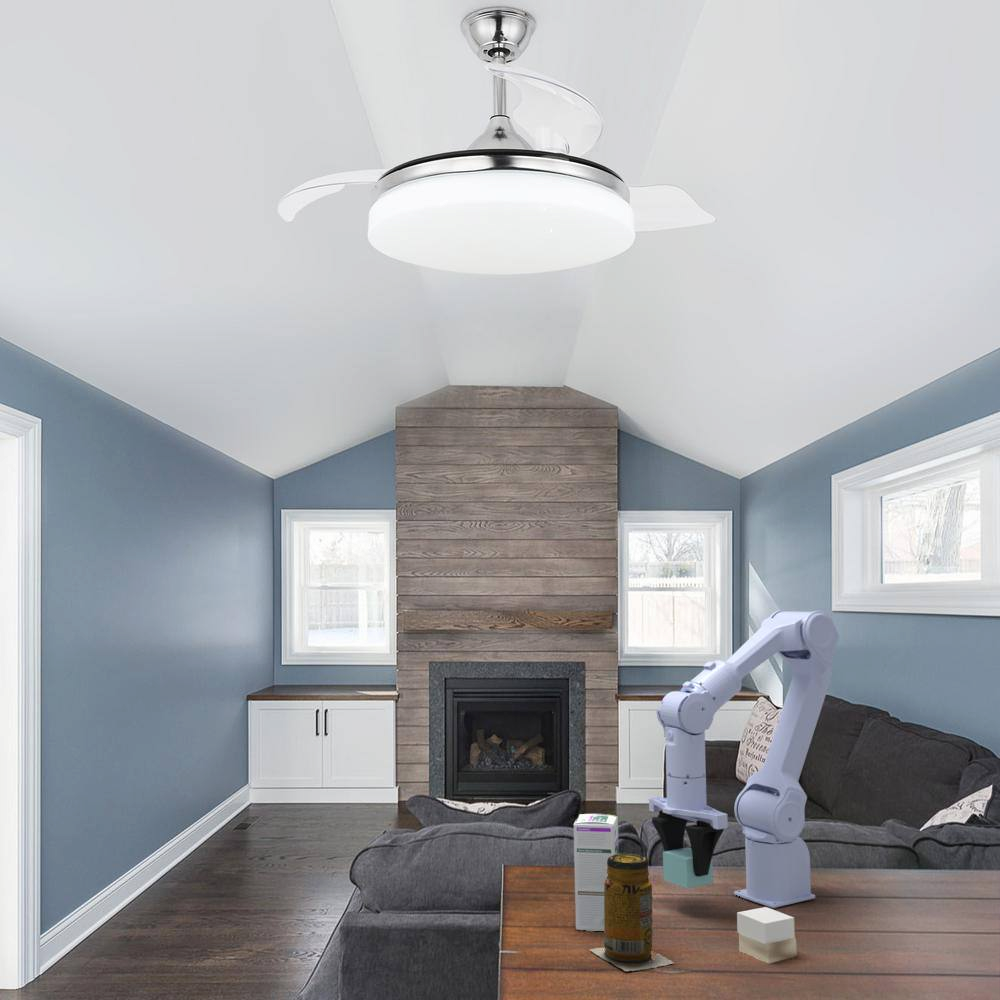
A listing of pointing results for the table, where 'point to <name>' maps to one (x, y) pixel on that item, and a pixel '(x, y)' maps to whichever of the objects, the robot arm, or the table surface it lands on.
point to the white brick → (765, 925)
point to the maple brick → (768, 949)
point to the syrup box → (592, 866)
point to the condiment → (628, 915)
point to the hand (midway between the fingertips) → (688, 870)
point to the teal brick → (683, 869)
